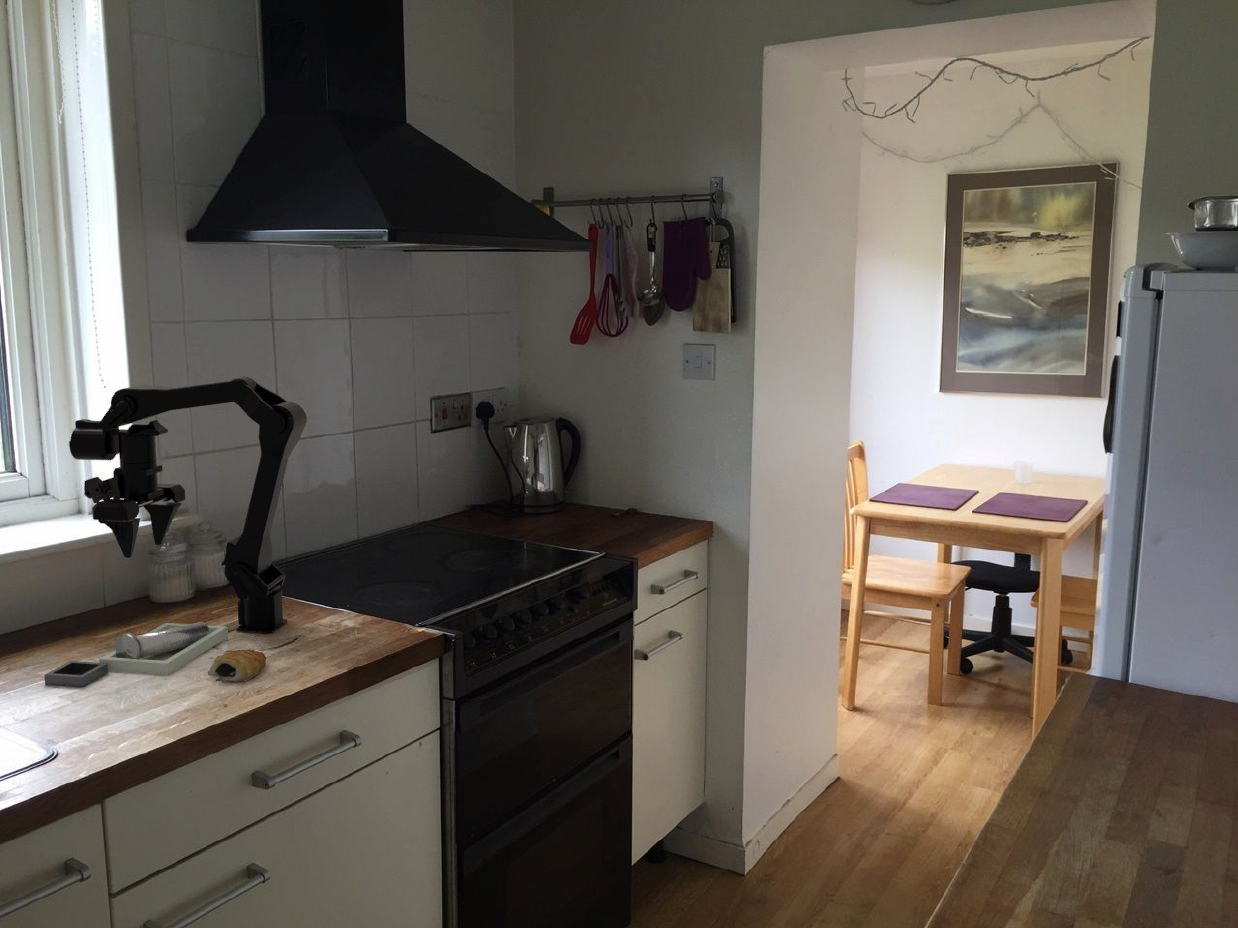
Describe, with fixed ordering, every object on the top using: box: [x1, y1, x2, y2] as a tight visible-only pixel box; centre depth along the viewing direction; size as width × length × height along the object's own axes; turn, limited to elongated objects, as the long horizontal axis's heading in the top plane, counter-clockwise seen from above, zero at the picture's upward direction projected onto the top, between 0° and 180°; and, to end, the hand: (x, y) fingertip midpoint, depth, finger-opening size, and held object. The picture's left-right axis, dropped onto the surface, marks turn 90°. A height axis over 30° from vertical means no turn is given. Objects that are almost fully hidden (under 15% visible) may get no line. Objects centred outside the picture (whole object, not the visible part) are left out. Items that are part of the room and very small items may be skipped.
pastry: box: [207, 648, 267, 683], centre depth 167 cm, size 9×7×4 cm
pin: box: [114, 621, 210, 659], centre depth 172 cm, size 5×5×14 cm
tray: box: [98, 622, 229, 676], centre depth 173 cm, size 11×18×2 cm, turn 171°
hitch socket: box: [44, 660, 109, 689], centre depth 161 cm, size 6×6×2 cm
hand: (143, 550), depth 187 cm, fingers open, 9 cm apart
